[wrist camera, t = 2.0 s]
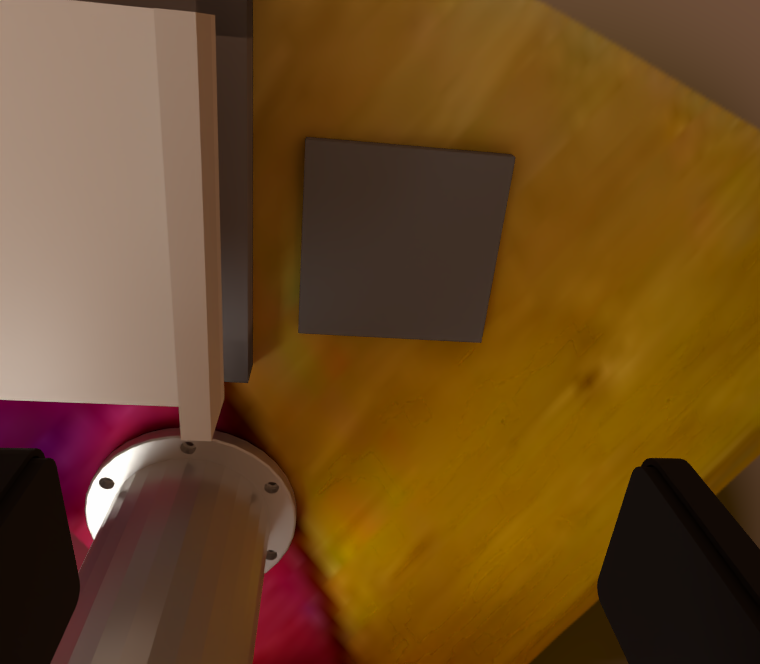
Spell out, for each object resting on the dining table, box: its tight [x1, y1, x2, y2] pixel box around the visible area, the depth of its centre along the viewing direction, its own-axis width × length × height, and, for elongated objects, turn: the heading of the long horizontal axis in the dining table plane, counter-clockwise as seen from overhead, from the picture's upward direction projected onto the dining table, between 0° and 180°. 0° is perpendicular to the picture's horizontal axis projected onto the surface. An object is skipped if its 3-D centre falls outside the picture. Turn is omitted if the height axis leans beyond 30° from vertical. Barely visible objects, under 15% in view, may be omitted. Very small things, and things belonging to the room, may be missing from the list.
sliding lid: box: [0, 0, 224, 441], centre depth 22 cm, size 15×12×3 cm
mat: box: [298, 137, 515, 343], centre depth 31 cm, size 10×10×1 cm
